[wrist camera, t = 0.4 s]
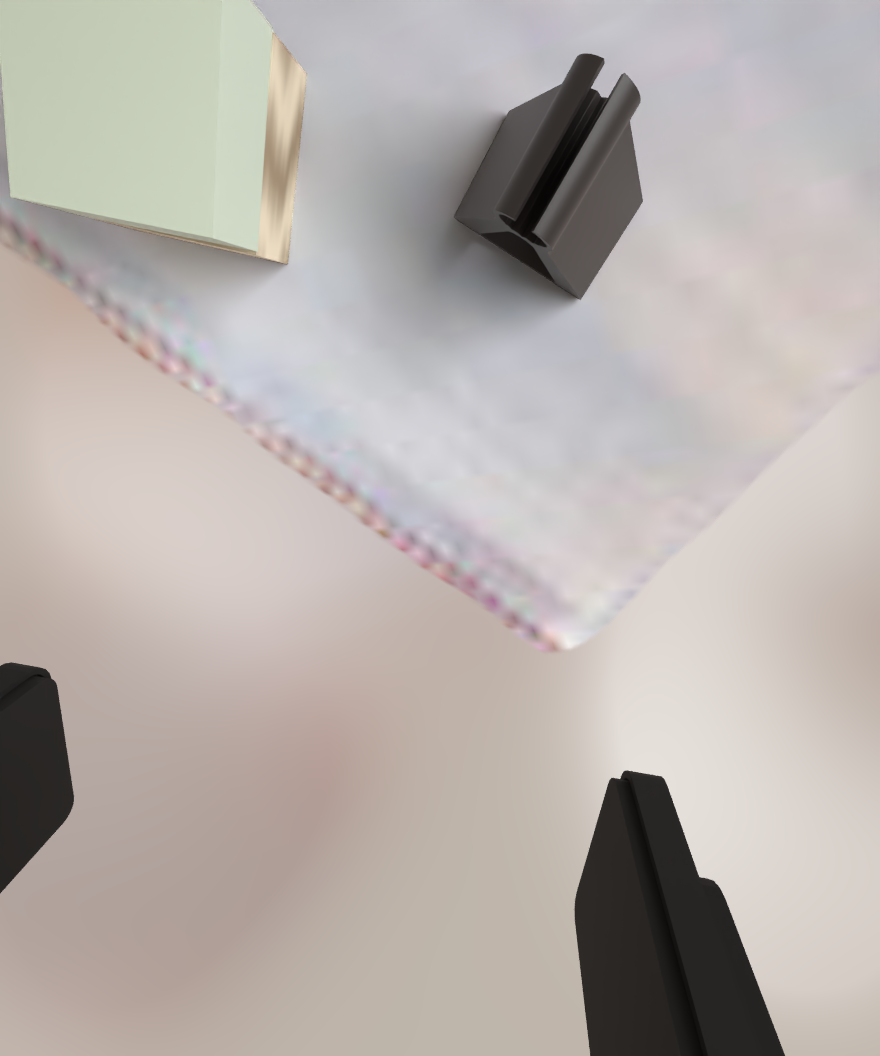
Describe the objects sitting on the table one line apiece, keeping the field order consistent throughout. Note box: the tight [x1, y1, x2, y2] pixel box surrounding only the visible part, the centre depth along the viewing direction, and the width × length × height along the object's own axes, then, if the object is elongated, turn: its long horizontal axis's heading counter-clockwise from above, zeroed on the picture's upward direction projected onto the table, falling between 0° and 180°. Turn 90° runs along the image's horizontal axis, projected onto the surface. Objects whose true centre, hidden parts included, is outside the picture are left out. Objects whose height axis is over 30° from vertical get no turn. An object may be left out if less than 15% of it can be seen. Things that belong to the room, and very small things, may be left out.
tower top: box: [0, 0, 273, 252], centre depth 27 cm, size 10×10×5 cm
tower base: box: [88, 32, 307, 264], centre depth 31 cm, size 10×10×5 cm
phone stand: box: [454, 54, 643, 300], centre depth 27 cm, size 9×6×12 cm, turn 59°
